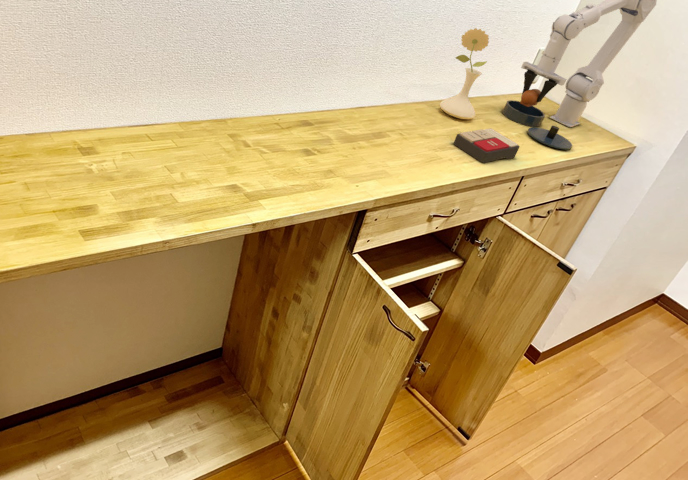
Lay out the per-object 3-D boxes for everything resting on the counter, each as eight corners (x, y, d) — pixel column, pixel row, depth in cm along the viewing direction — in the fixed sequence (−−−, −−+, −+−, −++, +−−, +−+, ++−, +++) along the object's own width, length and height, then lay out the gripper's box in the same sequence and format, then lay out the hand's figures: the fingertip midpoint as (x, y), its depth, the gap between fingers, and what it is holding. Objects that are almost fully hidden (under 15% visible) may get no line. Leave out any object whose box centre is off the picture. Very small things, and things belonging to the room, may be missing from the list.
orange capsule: (527, 99, 192) (534, 85, 189) (539, 105, 190) (547, 91, 187) (516, 102, 186) (523, 88, 183) (529, 108, 184) (536, 94, 181)
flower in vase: (477, 118, 180) (513, 37, 165) (466, 125, 172) (503, 41, 157) (440, 102, 184) (472, 22, 169) (427, 109, 176) (460, 25, 161)
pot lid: (537, 127, 187) (544, 115, 184) (576, 147, 180) (584, 134, 177) (519, 133, 178) (526, 120, 175) (560, 154, 171) (567, 140, 168)
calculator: (457, 131, 155) (491, 125, 163) (451, 145, 158) (485, 139, 166) (487, 150, 149) (521, 143, 157) (481, 165, 151) (515, 157, 159)
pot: (512, 108, 198) (517, 98, 196) (545, 124, 192) (551, 114, 190) (495, 112, 190) (500, 102, 188) (529, 129, 184) (535, 119, 182)
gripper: (526, 48, 179) (506, 90, 187) (568, 66, 173) (545, 108, 181) (535, 47, 184) (515, 88, 192) (576, 64, 177) (554, 106, 185)
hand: (530, 98), depth 187 cm, fingers closed on orange capsule, 5 cm apart
